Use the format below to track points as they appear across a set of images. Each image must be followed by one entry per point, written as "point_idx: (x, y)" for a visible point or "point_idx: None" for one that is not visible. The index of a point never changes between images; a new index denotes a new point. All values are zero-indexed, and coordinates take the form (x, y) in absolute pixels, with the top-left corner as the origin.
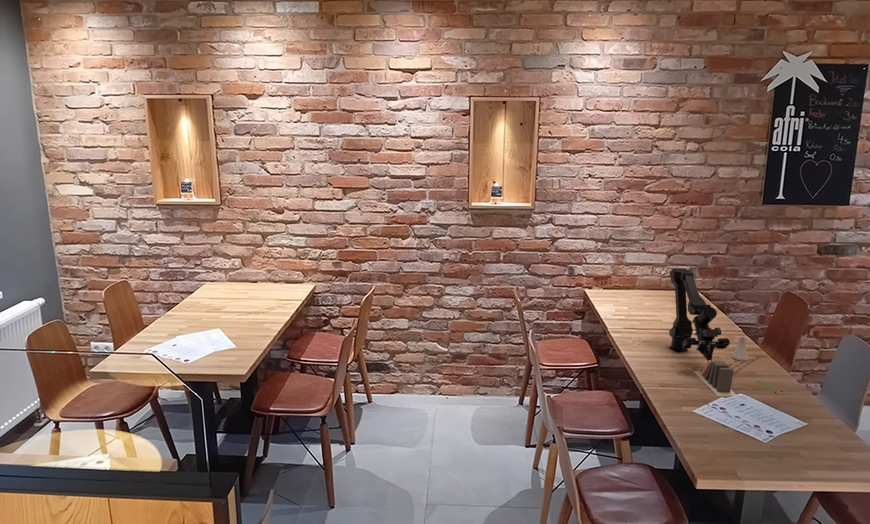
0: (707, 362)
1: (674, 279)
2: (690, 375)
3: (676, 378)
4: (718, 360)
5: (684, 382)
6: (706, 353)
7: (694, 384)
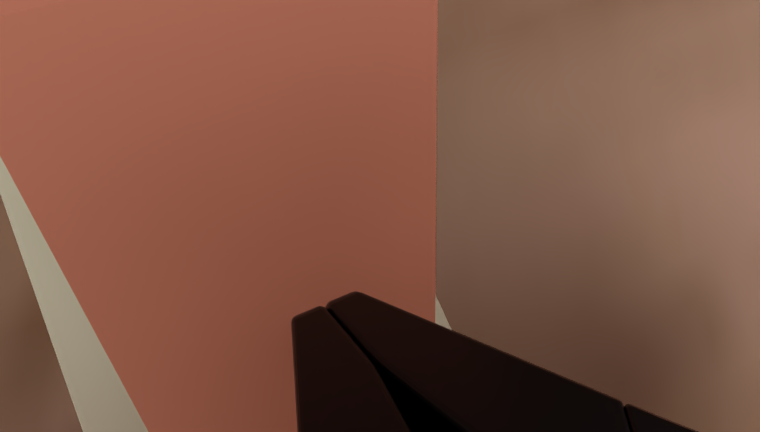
0: (432, 37)
1: None
2: (558, 363)
3: (708, 156)
4: (35, 9)
5: (597, 58)
6: (630, 406)
7: (471, 33)
